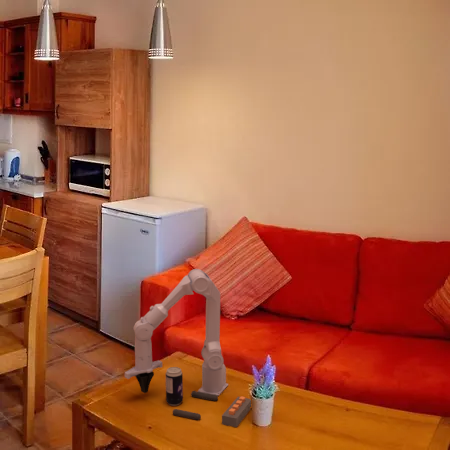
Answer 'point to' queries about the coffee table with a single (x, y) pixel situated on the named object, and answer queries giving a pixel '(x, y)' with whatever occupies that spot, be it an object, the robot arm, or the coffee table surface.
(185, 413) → the cord
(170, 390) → the beverage can
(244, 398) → the breaker strip
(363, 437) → the coffee table surface
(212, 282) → the robot arm
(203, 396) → the cord
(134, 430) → the coffee table surface
